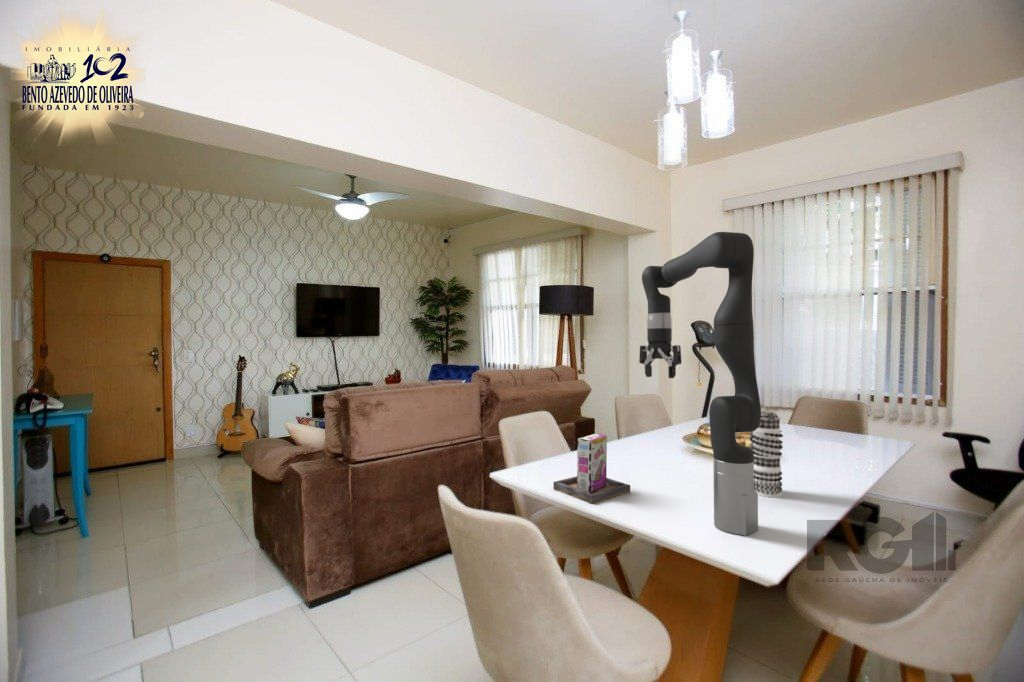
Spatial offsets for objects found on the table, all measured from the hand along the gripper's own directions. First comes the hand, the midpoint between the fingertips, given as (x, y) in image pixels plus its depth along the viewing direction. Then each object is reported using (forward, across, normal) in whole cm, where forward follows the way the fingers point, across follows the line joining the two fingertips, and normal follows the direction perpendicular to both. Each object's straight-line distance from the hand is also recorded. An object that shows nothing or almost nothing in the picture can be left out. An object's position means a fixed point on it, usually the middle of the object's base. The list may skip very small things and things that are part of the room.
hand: (659, 377), depth 148 cm
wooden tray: (+36, +12, +20) cm, 43 cm away
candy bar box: (+35, +11, +20) cm, 42 cm away
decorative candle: (+36, -23, -21) cm, 48 cm away
